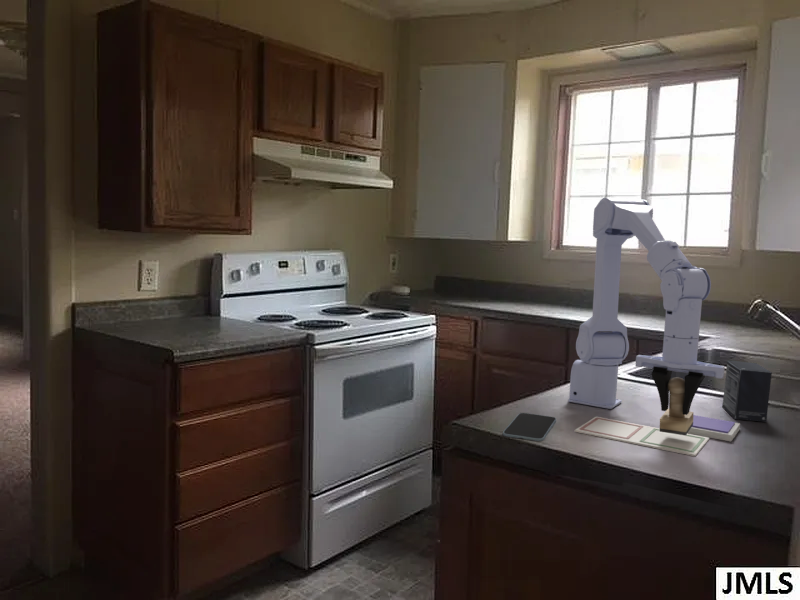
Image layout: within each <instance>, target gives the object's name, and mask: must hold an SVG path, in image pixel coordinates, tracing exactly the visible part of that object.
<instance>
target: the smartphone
mask: <svg viewBox="0 0 800 600" xmlns="http://www.w3.org/2000/svg"><path fill="white" fill-rule="evenodd" d="M556 422H557V418H556V417H554V416H549V415H543V414H534V413H529V412H520V413H518V414H517V415H516V416H515V418H514V419H512V421H510V423H509V424H508V426H507V427H505V429H504V430H503V432H502V435H503V437H509V438H515V439H523V440H530V441H534V442H535V441H536V442H543V441H544V440H545V438H546V437H547V436H548V435H549V432H550V431H551V430H552V429H553V427H554V425H555V424H556Z"/></svg>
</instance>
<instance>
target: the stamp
mask: <svg viewBox="0 0 800 600" xmlns="http://www.w3.org/2000/svg"><path fill="white" fill-rule="evenodd" d="M668 389H669V406H668V409H667V410H666V411H664V413H663V414H662V415H661V417H659V428H660V432H666V433H672V434H679V435H685V436H686V435H687V434H688V432H689V430H690V429H691V427H692V426H693V415H694V411H689V413H688V414H687V415H684V414H683V403H684V396H685V379H683V378H681V377H679V376H677V377H671V380H670V381H669V382H668Z"/></svg>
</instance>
